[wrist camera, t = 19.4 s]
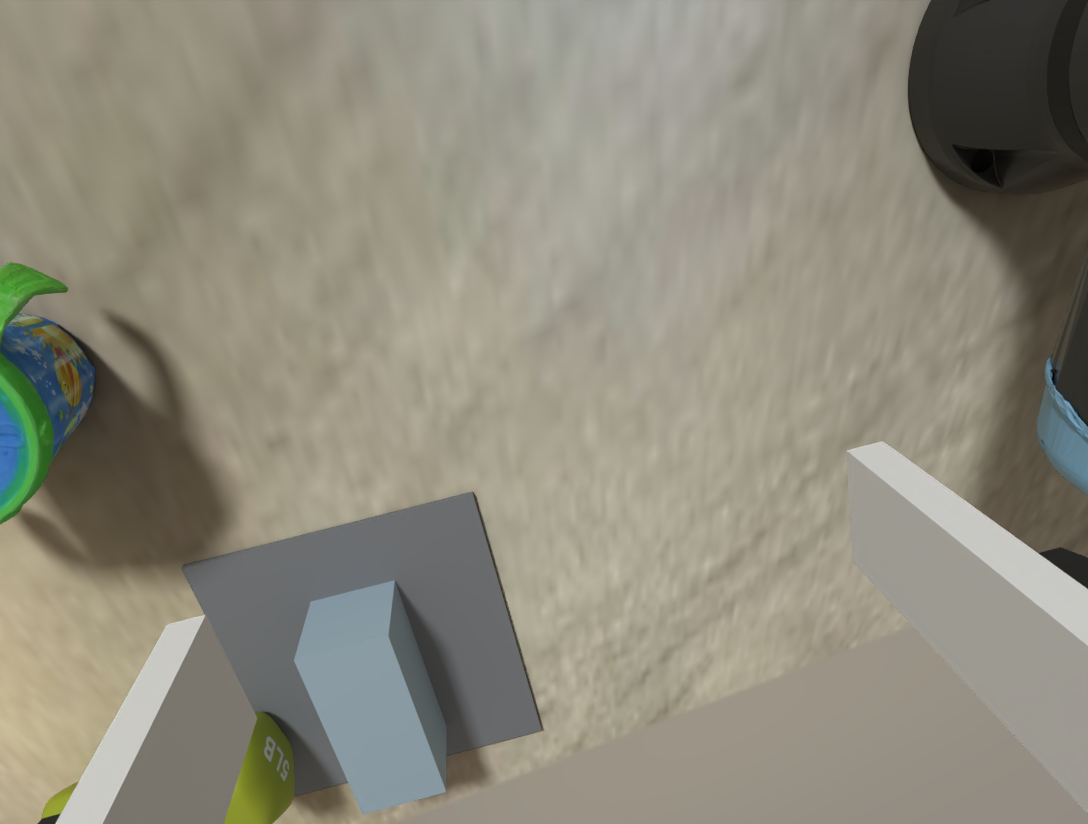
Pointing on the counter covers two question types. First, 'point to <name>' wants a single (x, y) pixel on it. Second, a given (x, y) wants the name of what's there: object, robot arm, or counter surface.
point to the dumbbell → (244, 779)
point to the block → (374, 696)
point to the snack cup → (35, 387)
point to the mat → (430, 603)
